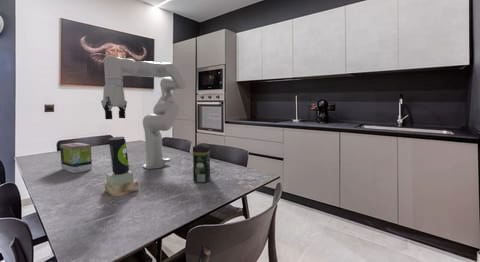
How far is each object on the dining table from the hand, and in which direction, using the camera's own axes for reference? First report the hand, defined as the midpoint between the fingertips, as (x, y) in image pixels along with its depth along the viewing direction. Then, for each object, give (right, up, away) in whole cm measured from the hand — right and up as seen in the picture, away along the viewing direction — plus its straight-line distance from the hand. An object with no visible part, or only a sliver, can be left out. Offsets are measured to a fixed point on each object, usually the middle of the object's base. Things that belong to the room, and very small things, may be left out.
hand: (115, 118), depth 115 cm
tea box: (-32, -28, +19) cm, 47 cm away
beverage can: (+10, -24, -14) cm, 30 cm away
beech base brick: (+10, -32, -14) cm, 36 cm away
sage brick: (+10, -28, -14) cm, 33 cm away
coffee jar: (+42, -31, +2) cm, 52 cm away
